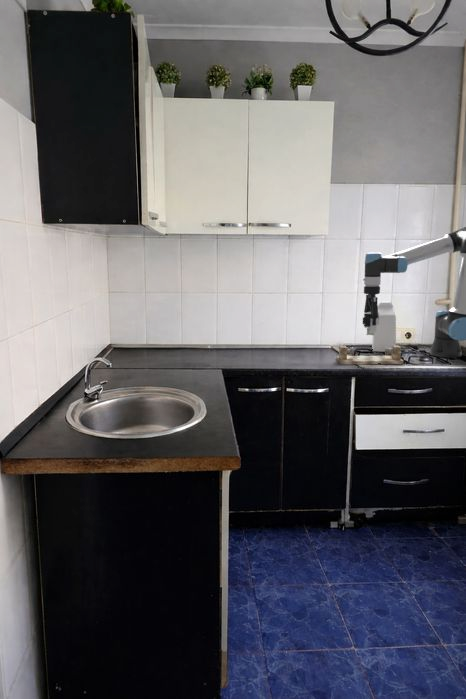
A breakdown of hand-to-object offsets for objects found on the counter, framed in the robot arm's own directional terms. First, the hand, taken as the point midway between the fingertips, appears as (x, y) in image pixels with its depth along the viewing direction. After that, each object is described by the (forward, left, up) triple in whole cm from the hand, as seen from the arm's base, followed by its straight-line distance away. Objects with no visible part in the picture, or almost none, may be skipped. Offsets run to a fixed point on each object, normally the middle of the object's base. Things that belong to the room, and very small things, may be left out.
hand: (370, 329), depth 250 cm
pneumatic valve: (0, 0, -3) cm, 3 cm away
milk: (-14, -29, -16) cm, 36 cm away
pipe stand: (0, 0, -16) cm, 16 cm away
